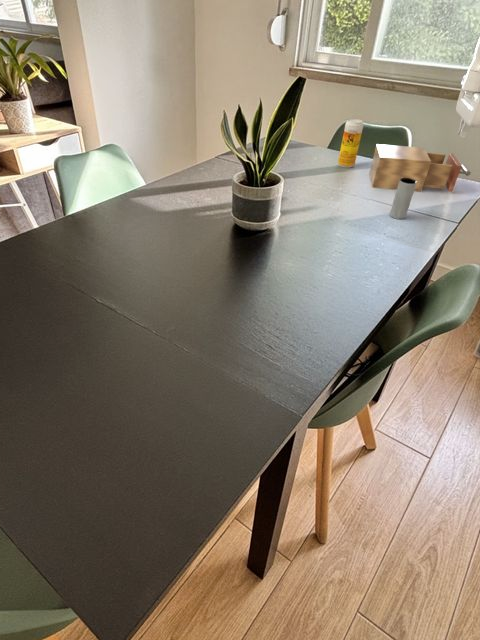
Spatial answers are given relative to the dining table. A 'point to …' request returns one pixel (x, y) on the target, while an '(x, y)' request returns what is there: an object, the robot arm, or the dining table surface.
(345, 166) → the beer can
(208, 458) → the dining table surface
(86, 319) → the dining table surface
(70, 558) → the dining table surface
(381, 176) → the cabinet
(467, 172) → the drawer
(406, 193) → the grey cylindrical tube
